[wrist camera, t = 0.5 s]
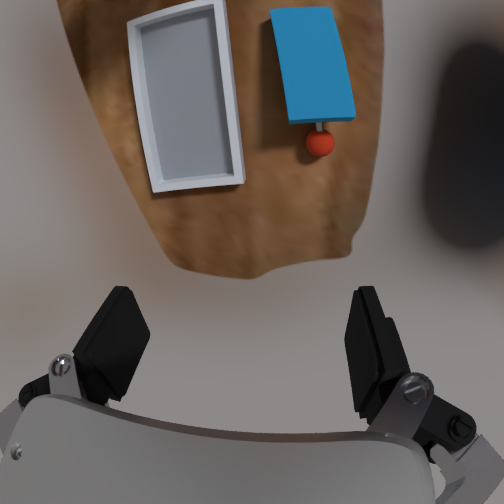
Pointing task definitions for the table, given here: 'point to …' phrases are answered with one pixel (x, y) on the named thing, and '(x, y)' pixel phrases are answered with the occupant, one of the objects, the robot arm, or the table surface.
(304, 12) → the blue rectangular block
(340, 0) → the table surface
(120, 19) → the table surface
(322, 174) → the table surface
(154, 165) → the tray
